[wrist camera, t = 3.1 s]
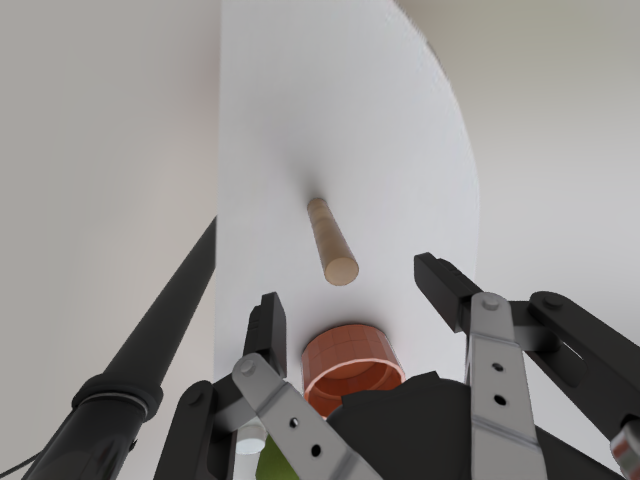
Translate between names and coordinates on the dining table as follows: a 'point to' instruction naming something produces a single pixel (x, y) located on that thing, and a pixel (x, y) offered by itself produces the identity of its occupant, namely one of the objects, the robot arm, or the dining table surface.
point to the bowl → (347, 366)
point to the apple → (274, 463)
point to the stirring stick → (331, 245)
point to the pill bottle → (251, 437)
